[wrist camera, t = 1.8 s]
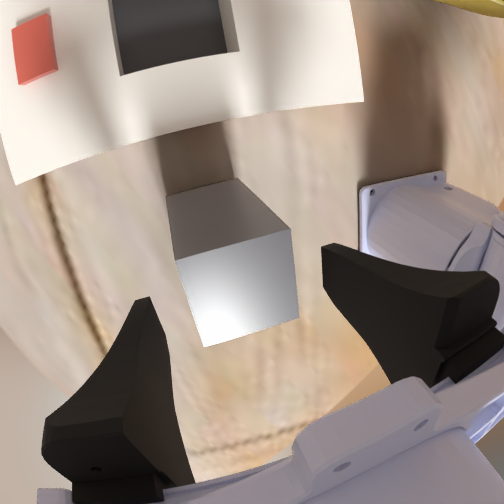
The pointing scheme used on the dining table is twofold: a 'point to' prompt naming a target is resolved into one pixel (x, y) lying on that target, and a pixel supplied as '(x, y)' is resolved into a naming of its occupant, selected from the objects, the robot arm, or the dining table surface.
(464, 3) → the flower pot
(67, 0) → the socket plate
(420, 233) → the robot arm
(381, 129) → the dining table surface
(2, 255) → the dining table surface
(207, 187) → the plug
